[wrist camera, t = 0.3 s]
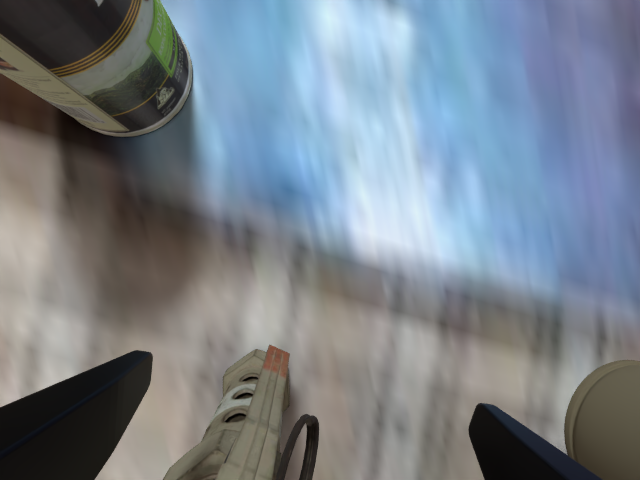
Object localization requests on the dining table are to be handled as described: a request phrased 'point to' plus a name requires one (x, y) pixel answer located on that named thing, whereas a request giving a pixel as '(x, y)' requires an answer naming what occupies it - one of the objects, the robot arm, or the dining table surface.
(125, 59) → the coffee can
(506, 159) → the dining table surface
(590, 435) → the can
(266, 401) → the grenade model
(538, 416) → the dining table surface
